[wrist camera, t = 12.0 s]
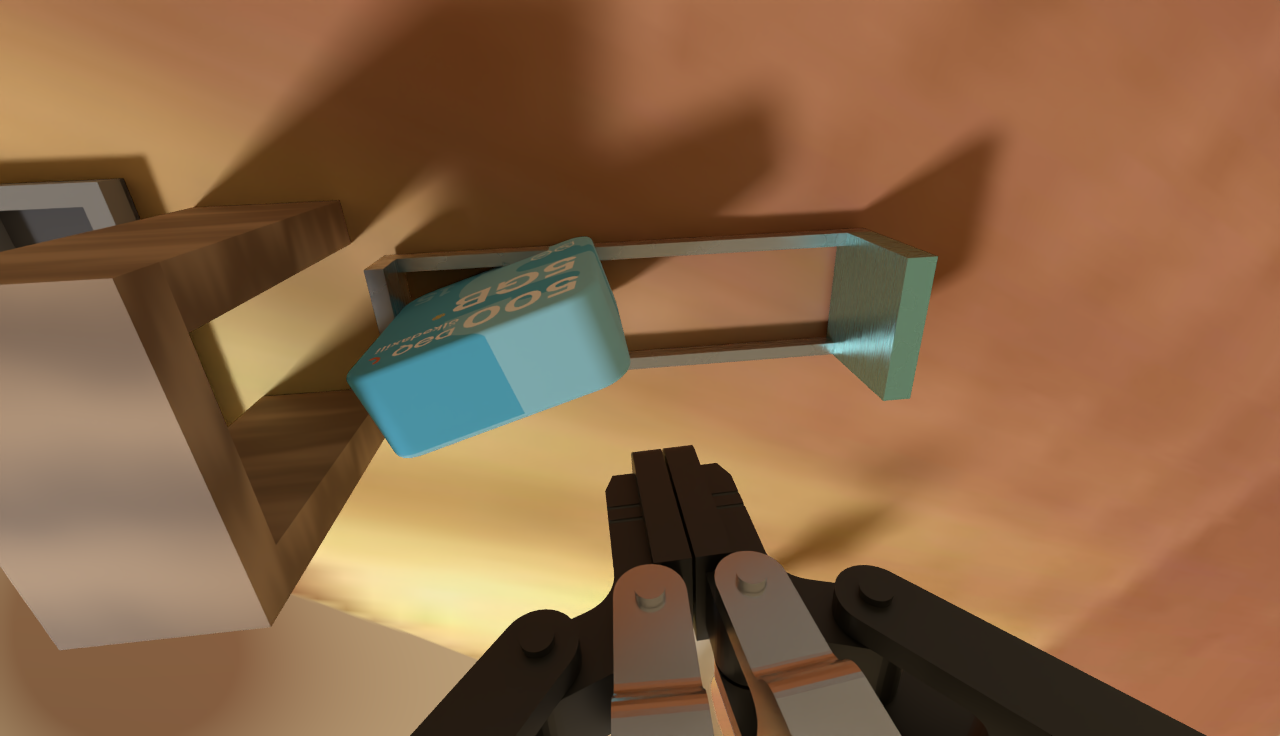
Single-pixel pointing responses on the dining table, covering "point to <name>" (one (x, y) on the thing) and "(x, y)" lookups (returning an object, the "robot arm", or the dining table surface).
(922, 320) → the frame
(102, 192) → the tray
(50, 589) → the wooden arch
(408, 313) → the data package
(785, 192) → the dining table surface
